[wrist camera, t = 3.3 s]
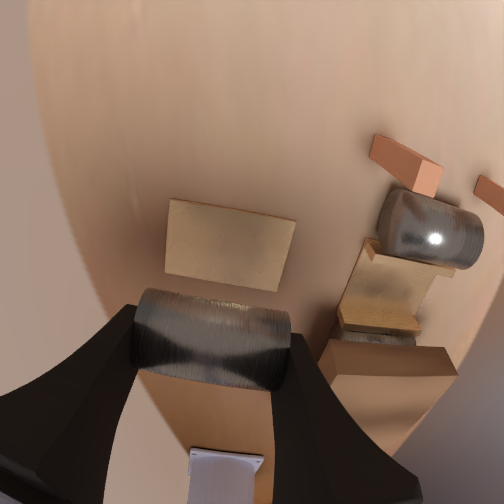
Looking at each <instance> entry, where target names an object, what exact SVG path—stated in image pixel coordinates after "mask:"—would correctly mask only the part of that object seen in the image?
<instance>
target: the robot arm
mask: <svg viewBox="0 0 504 504" xmlns="http://www.w3.org/2000/svg"><path fill="white" fill-rule="evenodd" d="M137 307H138V306H135V305H130V304H127V305H125V306H124V307H123V308H122V309H121V310H120V311H119V312H118V313H117V314H116V315H115V316H114V317H113V318H112V319H111V320H110V321H109V322H108V323H107V324H106V325H105V326H104V327H103V328H102V329H100V330H99V331H98V332H97V333H96V334H95V335H94V336H93V337H92V338H91V339H89V340H88V341H87V342H86V343H85V344H84V345H82V346H81V347H80V348H79V349H78V350H76V351H75V352H74V353H73V354H72V355H70V356H69V357H68V358H66V359H65V360H64V361H62V362H61V363H60V364H58V365H57V366H55V367H54V368H52V369H51V370H49V371H48V372H46V373H45V374H43V375H41V376H40V377H38V378H36V379H35V380H33V381H31V382H30V383H28V384H26V385H24V386H22V387H20V388H18V389H16V390H13V391H12V392H9V393H8V394H5V395H3V396H0V504H103V498H104V490H105V483H106V476H107V471H108V464H109V460H110V455H111V450H112V445H113V441H114V437H115V433H116V428H117V425H118V421H119V419H120V415H121V413H122V411H123V408H124V405H125V403H126V400H127V398H128V395H129V392H130V390H131V387H132V385H133V382H134V380H135V377H136V375H137V372H138V369H135V368H134V367H133V366H132V362H131V353H130V348H131V335H132V328H133V324H134V318H135V314H136V310H137ZM271 403H272V415H273V427H274V439H275V470H274V487H273V501H272V504H421V503H422V502H423V496H422V491H421V487H420V483H419V480H418V477H416V476H415V475H413V474H412V473H411V472H409V471H408V470H407V469H405V468H404V467H403V466H401V465H400V464H398V463H397V462H396V461H395V460H393V459H392V458H391V457H390V456H389V455H388V454H386V453H385V452H384V451H383V450H382V449H381V448H380V447H379V446H378V445H377V444H376V443H375V442H374V441H373V440H372V439H371V438H370V437H369V436H368V435H367V434H366V433H365V432H364V431H363V430H362V429H361V428H360V426H359V425H358V424H357V423H356V422H355V421H354V419H353V418H352V417H351V416H350V414H349V413H348V412H347V410H346V409H345V408H344V406H343V405H342V403H341V402H340V401H339V399H338V398H337V396H336V395H335V393H334V392H333V390H332V388H331V387H330V385H329V384H328V382H327V380H326V378H325V377H324V375H323V373H322V372H321V370H320V368H319V366H318V364H317V363H316V361H315V359H314V357H313V355H312V353H311V351H310V349H309V347H308V345H307V343H306V341H305V339H304V337H303V335H302V334H297V333H291V342H290V347H289V356H288V363H287V368H286V372H285V375H284V378H283V381H282V384H281V386H280V388H279V389H278V391H276V392H271ZM263 461H264V457H263V456H256V455H244V454H235V453H226V452H218V451H211V450H204V449H198V448H191V449H190V457H189V468H188V475H189V476H191V478H190V485H189V493H188V501H187V504H254V475H255V473H256V472H257V470H258V468H259V467H260V465H261V464H262V462H263Z"/></svg>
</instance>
